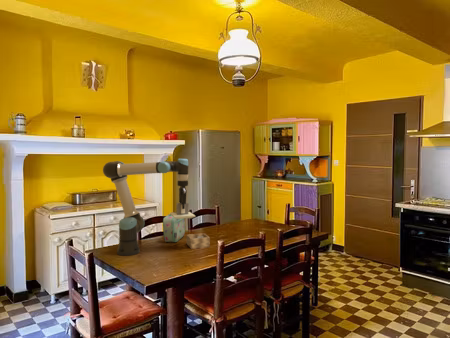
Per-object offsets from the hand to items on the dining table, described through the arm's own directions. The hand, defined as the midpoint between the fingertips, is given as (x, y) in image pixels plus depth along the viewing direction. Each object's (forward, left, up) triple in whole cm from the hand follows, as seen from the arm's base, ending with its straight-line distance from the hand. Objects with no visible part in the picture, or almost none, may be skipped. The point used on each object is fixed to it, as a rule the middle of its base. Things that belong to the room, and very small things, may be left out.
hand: (182, 212), depth 252 cm
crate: (+12, +3, -26) cm, 29 cm away
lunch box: (-1, +26, -26) cm, 37 cm away
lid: (0, 0, -3) cm, 3 cm away
